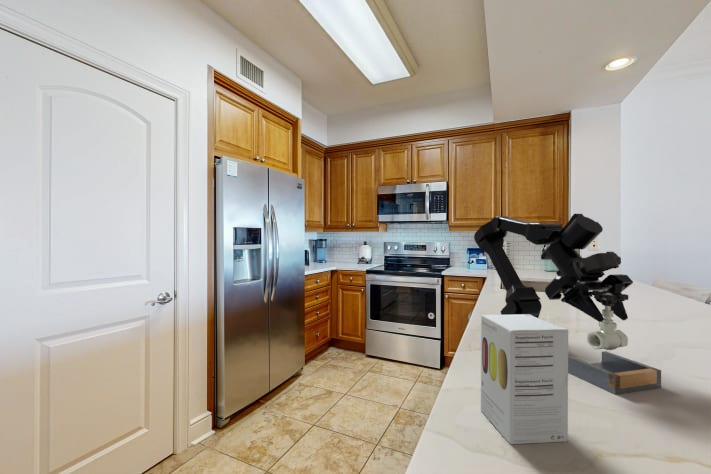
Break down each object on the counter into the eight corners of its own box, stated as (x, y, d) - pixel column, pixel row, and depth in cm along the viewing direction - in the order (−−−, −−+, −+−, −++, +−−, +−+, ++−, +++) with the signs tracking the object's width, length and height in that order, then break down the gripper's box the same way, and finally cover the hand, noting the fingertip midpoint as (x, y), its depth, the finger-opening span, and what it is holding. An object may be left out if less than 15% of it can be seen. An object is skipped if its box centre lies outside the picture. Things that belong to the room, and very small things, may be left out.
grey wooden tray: (564, 371, 71) (564, 355, 71) (605, 366, 74) (605, 351, 74) (615, 394, 60) (615, 376, 60) (661, 387, 63) (661, 370, 63)
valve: (636, 354, 64) (637, 295, 64) (610, 356, 63) (611, 296, 62) (604, 342, 70) (605, 289, 70) (580, 344, 69) (580, 290, 69)
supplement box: (479, 410, 55) (478, 313, 55) (529, 407, 55) (528, 312, 56) (510, 446, 45) (510, 329, 45) (570, 442, 46) (570, 328, 46)
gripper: (556, 239, 68) (604, 300, 58) (624, 239, 72) (682, 296, 61) (528, 270, 76) (567, 329, 65) (592, 269, 80) (638, 325, 69)
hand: (614, 320), depth 65 cm, fingers closed on valve, 6 cm apart
